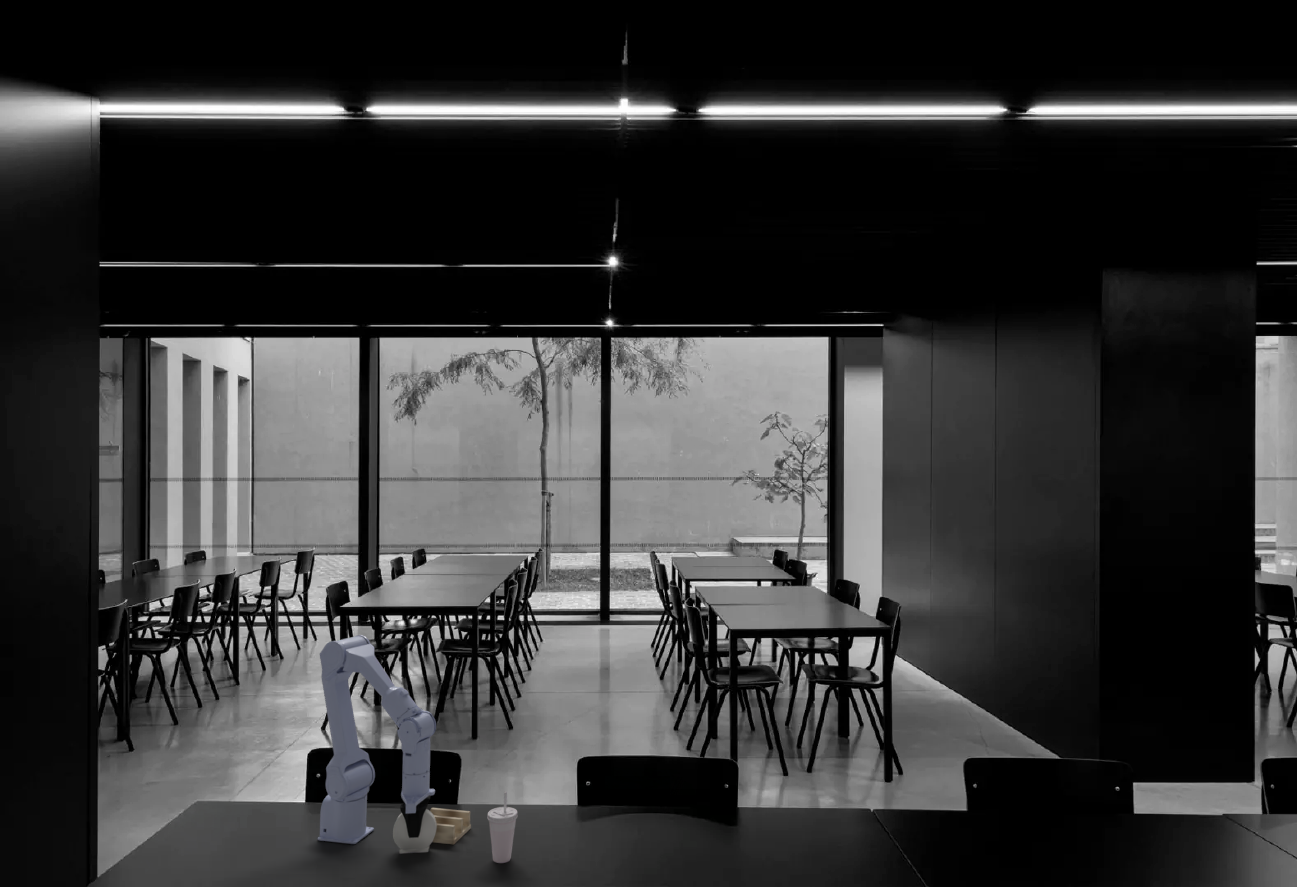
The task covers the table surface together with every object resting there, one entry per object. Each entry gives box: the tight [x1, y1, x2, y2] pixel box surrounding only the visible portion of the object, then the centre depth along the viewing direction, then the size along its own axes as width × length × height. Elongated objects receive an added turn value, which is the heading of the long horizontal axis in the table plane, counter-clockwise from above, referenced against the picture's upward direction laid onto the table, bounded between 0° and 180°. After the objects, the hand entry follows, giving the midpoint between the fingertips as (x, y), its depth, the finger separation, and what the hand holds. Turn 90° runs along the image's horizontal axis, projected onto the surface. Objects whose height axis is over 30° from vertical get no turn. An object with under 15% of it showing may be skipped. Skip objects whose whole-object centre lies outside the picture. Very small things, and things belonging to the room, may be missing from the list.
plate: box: [392, 808, 437, 854], centre depth 176 cm, size 9×2×9 cm, turn 98°
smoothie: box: [486, 790, 518, 864], centre depth 172 cm, size 6×6×14 cm
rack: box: [430, 807, 472, 845], centre depth 184 cm, size 10×9×4 cm
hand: (414, 834), depth 176 cm, fingers closed on plate, 2 cm apart
